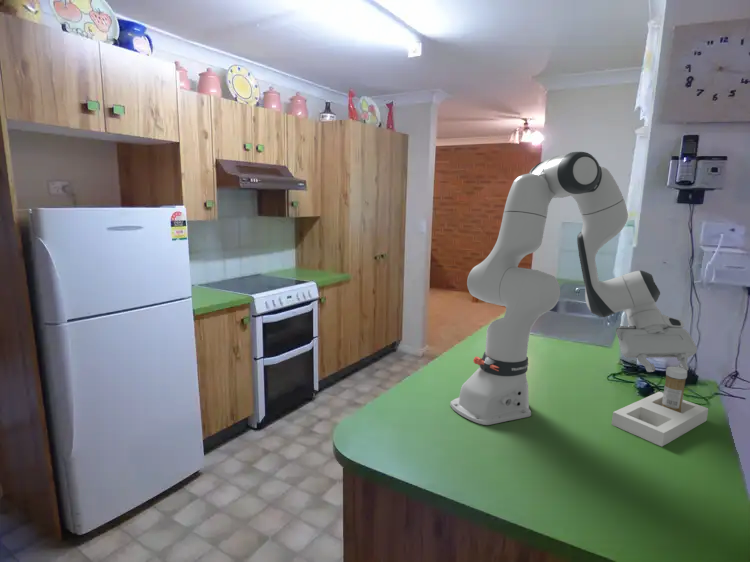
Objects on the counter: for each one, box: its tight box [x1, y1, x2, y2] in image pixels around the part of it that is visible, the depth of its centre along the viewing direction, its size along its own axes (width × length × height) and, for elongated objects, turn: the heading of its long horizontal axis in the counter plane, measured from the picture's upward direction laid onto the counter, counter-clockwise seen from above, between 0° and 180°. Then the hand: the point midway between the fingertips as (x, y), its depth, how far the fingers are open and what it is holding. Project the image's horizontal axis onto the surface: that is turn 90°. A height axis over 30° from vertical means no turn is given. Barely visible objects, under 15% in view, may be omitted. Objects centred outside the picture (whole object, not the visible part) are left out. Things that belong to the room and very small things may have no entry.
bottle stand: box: [610, 391, 709, 447], centre depth 114 cm, size 24×12×4 cm, turn 123°
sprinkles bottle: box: [662, 366, 688, 413], centre depth 117 cm, size 5×5×14 cm
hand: (668, 371), depth 119 cm, fingers open, 8 cm apart
